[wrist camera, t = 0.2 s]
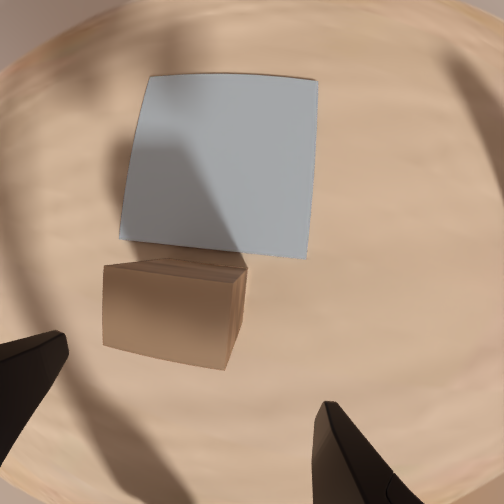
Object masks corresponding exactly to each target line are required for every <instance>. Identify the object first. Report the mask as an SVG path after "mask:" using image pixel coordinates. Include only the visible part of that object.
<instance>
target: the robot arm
mask: <svg viewBox="0 0 504 504" xmlns="http://www.w3.org/2000/svg"><path fill="white" fill-rule="evenodd" d="M68 355H69V349H68V344H67V339H66V335H65V334H64V333H62V332H60V331H58V330H53V331H49V332H46V333H42V334H38V335H34V336H30V337H27V338H23V339H19V340H15V341H11V342H7V343H3V344H0V467H1V465H2V463H3V461H4V460H5V458H6V456H7V454H8V453H9V451H10V449H11V448H12V446H13V444H14V443H15V441H16V439H17V438H18V436H19V435H20V433H21V431H22V430H23V428H24V427H25V425H26V424H27V422H28V421H29V419H30V418H31V416H32V414H33V413H34V411H35V410H36V408H37V407H38V406H39V404H40V403H41V401H42V400H43V398H44V397H45V395H46V394H47V392H48V391H49V389H50V388H51V386H52V385H53V383H54V381H55V379H56V377H57V376H58V374H59V372H60V370H61V369H62V367H63V365H64V363H65V362H66V360H67V358H68ZM312 487H313V504H424V503H423V502H422V501H421V500H420V499H419V498H418V497H417V496H416V495H414V494H413V493H412V492H411V491H410V490H409V489H408V487H407V486H406V485H405V484H404V483H403V482H402V481H401V480H400V478H399V477H398V476H397V475H396V474H395V473H393V470H392V469H391V468H390V467H389V466H388V464H387V463H386V462H385V461H384V460H383V458H382V457H381V456H380V455H379V454H378V452H377V451H376V450H375V449H374V447H373V446H372V445H371V444H370V443H369V441H368V440H367V439H366V438H365V437H364V435H363V434H362V433H361V432H360V430H359V429H358V428H357V427H356V425H355V424H354V423H353V422H352V421H351V419H350V418H349V417H348V416H347V414H346V413H345V412H344V411H343V409H342V408H341V407H340V406H339V404H338V403H337V402H334V401H324V402H323V403H322V405H321V407H320V409H319V411H318V413H317V416H316V418H315V422H314V436H313V449H312Z"/></svg>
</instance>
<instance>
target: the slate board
mask: <svg viewBox="0 0 504 504" xmlns="http://www.w3.org/2000/svg"><path fill="white" fill-rule="evenodd" d="M317 107H318V81H312V80H304V79H296V78H287V77H276V76H263V75H245V74H186V75H168V76H155V77H150V78H149V82H148V85H147V89H146V93H145V96H144V100H143V104H142V108H141V112H140V116H139V120H138V124H137V129H136V133H135V138H134V143H133V148H132V153H131V158H130V163H129V169H128V175H127V181H126V187H125V194H124V201H123V208H122V216H121V225H120V234H119V239H122V240H131V241H140V242H150V243H159V244H168V245H177V246H186V247H195V248H204V249H214V250H223V251H232V252H241V253H251V254H260V255H269V256H278V257H288V258H297V259H306V256H307V247H308V237H309V227H310V216H311V205H312V193H313V180H314V165H315V149H316V131H317Z"/></svg>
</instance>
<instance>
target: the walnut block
mask: <svg viewBox="0 0 504 504" xmlns="http://www.w3.org/2000/svg"><path fill="white" fill-rule="evenodd" d="M247 274H248V268H242V267H233V266H224V265H216V264H207V263H199V262H190V261H182V260H174V259H157V260H148V261H139V262H131V263H122V264H113V265H105V266H104V273H103V301H102V330H103V345H104V346H108V347H112V348H115V349H119V350H123V351H127V352H131V353H135V354H139V355H144V356H148V357H153V358H157V359H162V360H167V361H171V362H177V363H182V364H187V365H193V366H198V367H204V368H210V369H217V370H224V371H225V369H226V366H227V363H228V360H229V358H230V355H231V352H232V349H233V347H234V344H235V341H236V338H237V336H238V333H239V330H240V327H241V325H242V321H243V312H244V302H245V293H246V283H247Z"/></svg>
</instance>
